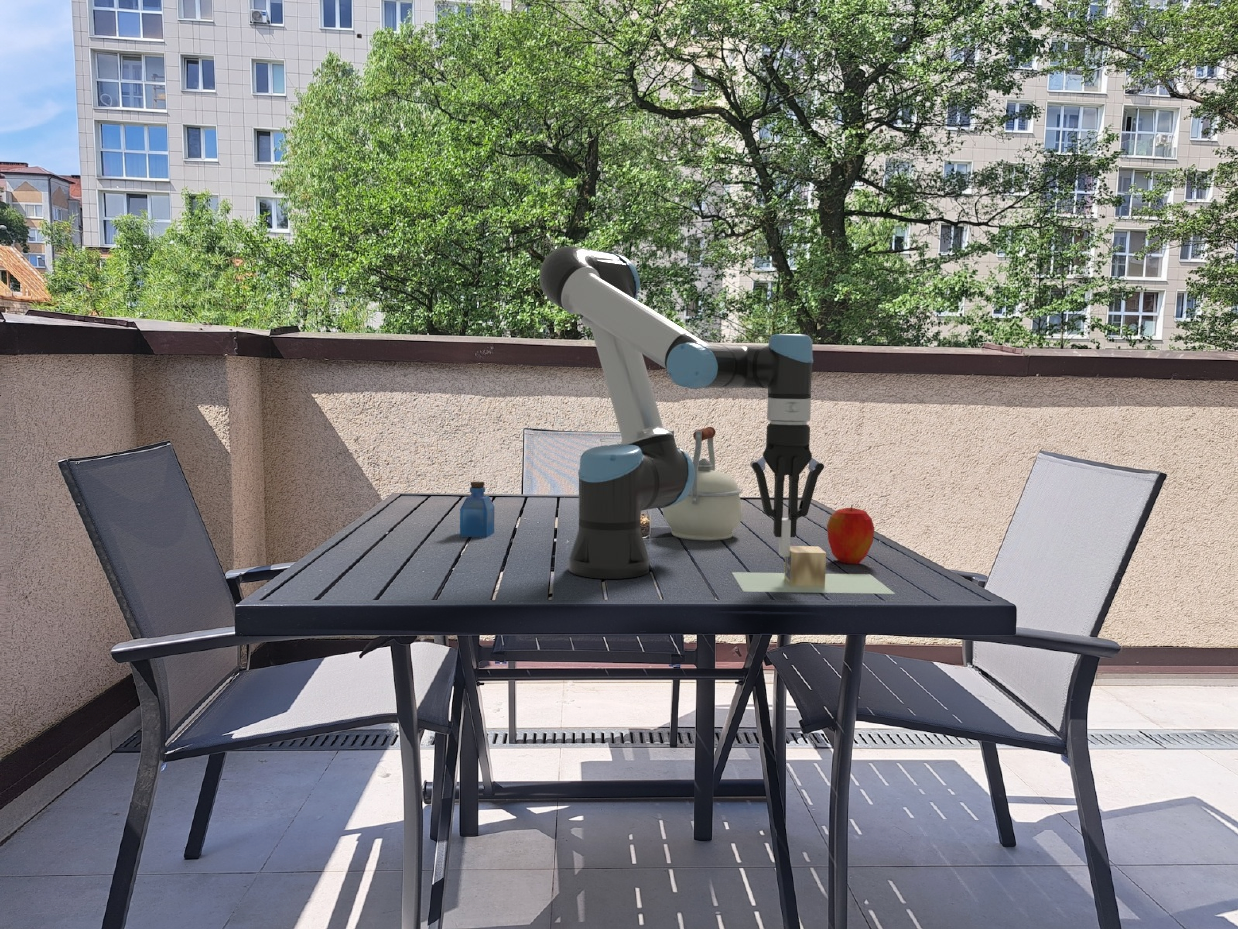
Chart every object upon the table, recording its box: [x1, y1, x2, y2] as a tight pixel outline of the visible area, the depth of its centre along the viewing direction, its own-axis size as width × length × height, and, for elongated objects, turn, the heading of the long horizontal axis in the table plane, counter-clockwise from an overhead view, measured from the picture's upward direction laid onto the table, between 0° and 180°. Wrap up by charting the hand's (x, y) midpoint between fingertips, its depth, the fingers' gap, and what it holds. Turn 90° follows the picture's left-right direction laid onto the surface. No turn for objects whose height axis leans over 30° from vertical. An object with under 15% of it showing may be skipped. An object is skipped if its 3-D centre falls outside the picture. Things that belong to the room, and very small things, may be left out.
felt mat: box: [731, 571, 896, 595], centre depth 163 cm, size 26×15×1 cm, turn 91°
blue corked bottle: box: [459, 481, 495, 539], centre depth 206 cm, size 6×6×12 cm
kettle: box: [662, 426, 744, 542], centre depth 211 cm, size 25×18×25 cm
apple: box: [826, 503, 875, 565], centre depth 181 cm, size 9×9×12 cm
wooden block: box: [784, 545, 827, 587], centre depth 162 cm, size 6×6×6 cm
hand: (784, 555), depth 162 cm, fingers closed
